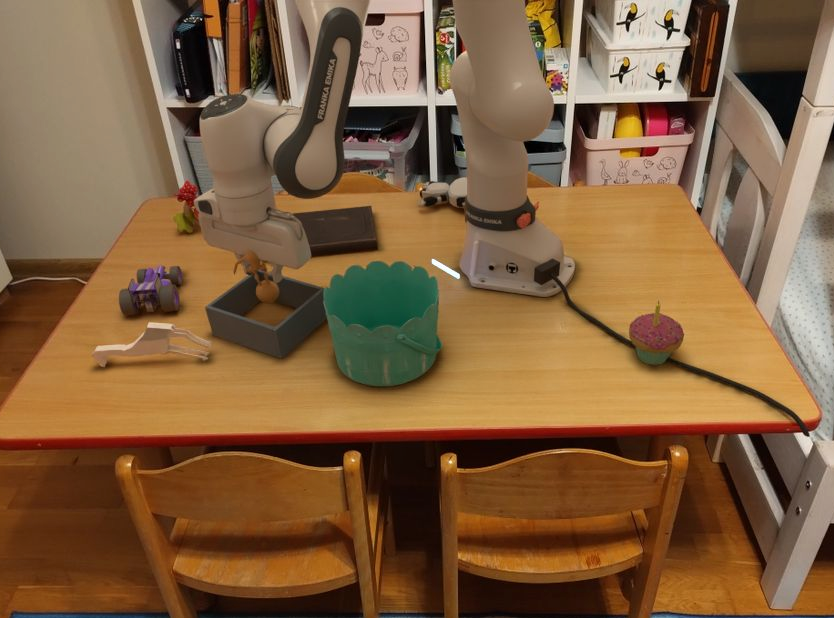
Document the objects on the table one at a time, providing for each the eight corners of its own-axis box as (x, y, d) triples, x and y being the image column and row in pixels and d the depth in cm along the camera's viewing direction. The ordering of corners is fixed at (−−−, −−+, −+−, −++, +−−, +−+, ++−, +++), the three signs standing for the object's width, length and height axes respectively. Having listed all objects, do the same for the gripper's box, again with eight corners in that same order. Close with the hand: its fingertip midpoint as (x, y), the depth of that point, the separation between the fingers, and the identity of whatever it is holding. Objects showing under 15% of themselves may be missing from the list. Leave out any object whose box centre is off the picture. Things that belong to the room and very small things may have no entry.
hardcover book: (268, 225, 158) (266, 215, 156) (372, 214, 160) (371, 205, 158) (264, 262, 145) (262, 252, 144) (377, 250, 147) (377, 240, 146)
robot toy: (417, 217, 160) (484, 215, 157) (414, 199, 157) (482, 196, 154) (425, 193, 169) (488, 190, 167) (422, 175, 166) (487, 172, 164)
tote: (330, 316, 129) (325, 288, 126) (281, 359, 120) (275, 330, 116) (263, 295, 136) (257, 268, 132) (212, 335, 126) (204, 307, 122)
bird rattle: (216, 229, 162) (176, 215, 160) (226, 187, 155) (184, 172, 153) (208, 243, 157) (167, 228, 155) (217, 200, 150) (174, 185, 148)
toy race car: (190, 272, 143) (181, 244, 139) (177, 315, 131) (168, 285, 127) (141, 277, 142) (131, 248, 138) (124, 320, 131) (113, 290, 127)
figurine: (294, 290, 127) (275, 230, 120) (293, 308, 122) (275, 245, 116) (247, 300, 127) (227, 239, 120) (245, 318, 122) (224, 255, 115)
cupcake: (669, 378, 112) (682, 316, 105) (617, 361, 116) (626, 300, 109) (685, 349, 118) (699, 287, 111) (635, 334, 122) (645, 273, 114)
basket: (335, 324, 127) (326, 262, 119) (438, 318, 128) (435, 255, 120) (329, 396, 112) (318, 329, 104) (446, 388, 113) (444, 321, 105)
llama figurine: (202, 383, 125) (93, 358, 121) (214, 333, 119) (99, 305, 114) (200, 389, 124) (90, 365, 119) (212, 339, 118) (96, 311, 113)
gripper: (311, 206, 111) (324, 281, 120) (212, 183, 119) (231, 255, 128) (286, 224, 107) (301, 301, 115) (185, 199, 115) (206, 272, 124)
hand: (263, 277), depth 122 cm, fingers closed on figurine, 4 cm apart
